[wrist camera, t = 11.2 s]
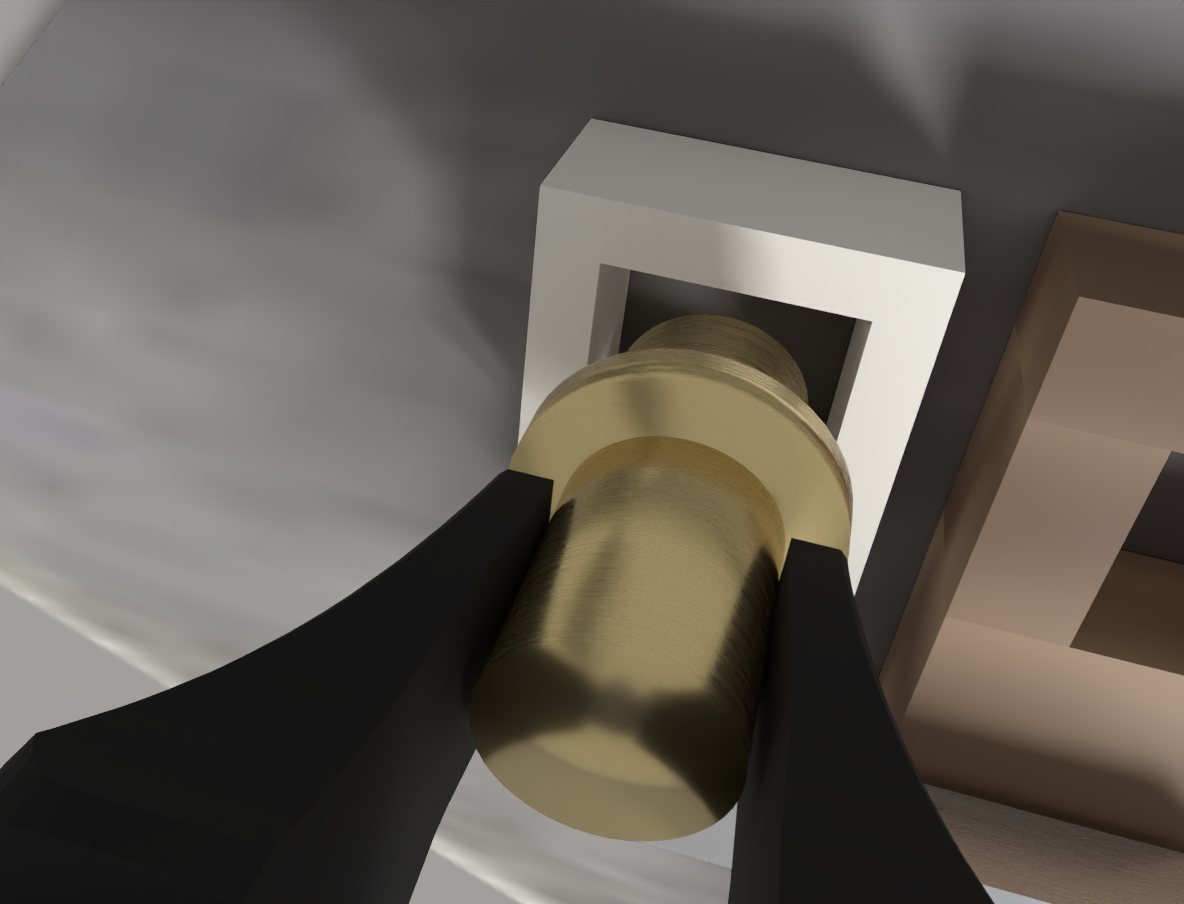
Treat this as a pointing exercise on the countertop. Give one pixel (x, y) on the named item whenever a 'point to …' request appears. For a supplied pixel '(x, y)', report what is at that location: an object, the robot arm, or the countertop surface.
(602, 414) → the peg
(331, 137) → the countertop surface
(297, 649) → the robot arm
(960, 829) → the bar
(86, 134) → the countertop surface
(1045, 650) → the socket block
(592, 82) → the countertop surface
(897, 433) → the white block with hole
